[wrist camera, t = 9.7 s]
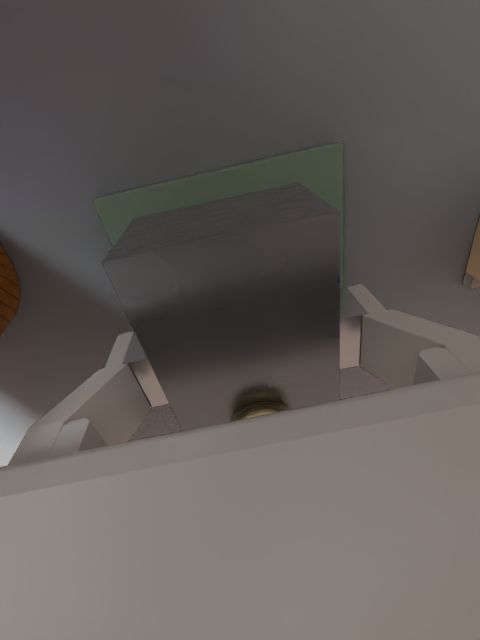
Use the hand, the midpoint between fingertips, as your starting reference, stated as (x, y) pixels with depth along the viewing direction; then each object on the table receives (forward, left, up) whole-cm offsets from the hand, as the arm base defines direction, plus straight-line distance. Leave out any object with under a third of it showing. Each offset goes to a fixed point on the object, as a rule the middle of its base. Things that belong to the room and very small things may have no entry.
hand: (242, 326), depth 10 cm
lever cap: (0, 0, -1) cm, 1 cm away
